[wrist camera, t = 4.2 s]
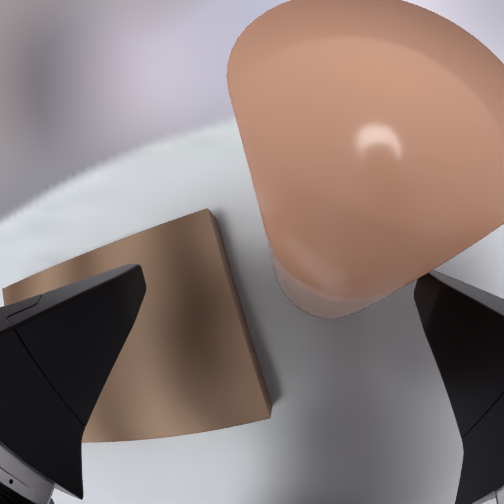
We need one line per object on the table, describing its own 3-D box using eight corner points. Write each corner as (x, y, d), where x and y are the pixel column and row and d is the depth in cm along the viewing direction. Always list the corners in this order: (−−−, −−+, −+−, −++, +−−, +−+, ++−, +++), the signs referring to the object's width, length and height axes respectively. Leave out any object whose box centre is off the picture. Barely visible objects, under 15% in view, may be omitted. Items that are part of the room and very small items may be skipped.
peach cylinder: (405, 273, 16) (570, 134, 4) (318, 341, 16) (408, 333, 3) (339, 190, 18) (381, -21, 5) (253, 249, 17) (169, 53, 5)
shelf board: (215, 218, 18) (207, 208, 16) (272, 405, 16) (270, 418, 14) (20, 290, 19) (2, 288, 17) (57, 433, 17) (41, 441, 15)
